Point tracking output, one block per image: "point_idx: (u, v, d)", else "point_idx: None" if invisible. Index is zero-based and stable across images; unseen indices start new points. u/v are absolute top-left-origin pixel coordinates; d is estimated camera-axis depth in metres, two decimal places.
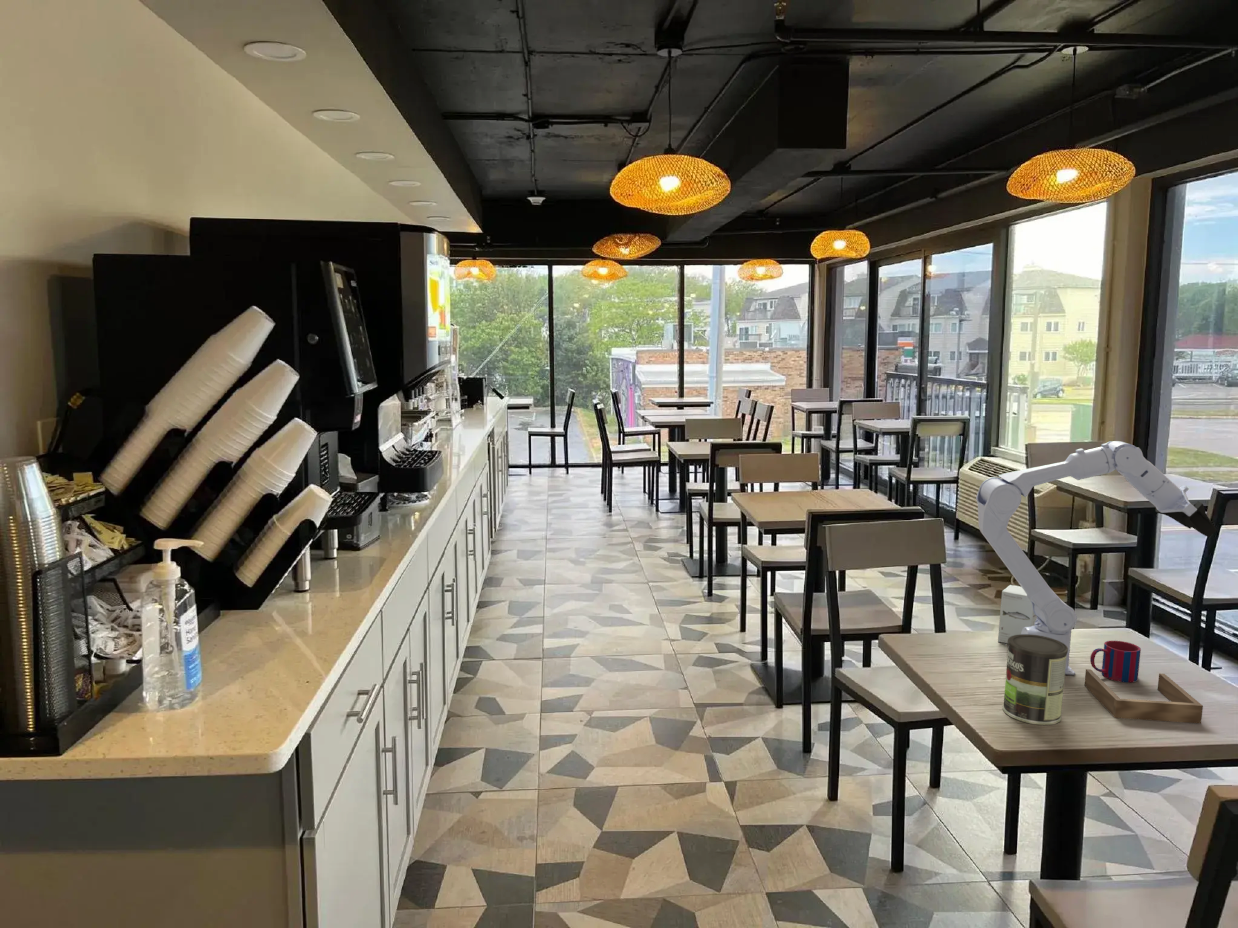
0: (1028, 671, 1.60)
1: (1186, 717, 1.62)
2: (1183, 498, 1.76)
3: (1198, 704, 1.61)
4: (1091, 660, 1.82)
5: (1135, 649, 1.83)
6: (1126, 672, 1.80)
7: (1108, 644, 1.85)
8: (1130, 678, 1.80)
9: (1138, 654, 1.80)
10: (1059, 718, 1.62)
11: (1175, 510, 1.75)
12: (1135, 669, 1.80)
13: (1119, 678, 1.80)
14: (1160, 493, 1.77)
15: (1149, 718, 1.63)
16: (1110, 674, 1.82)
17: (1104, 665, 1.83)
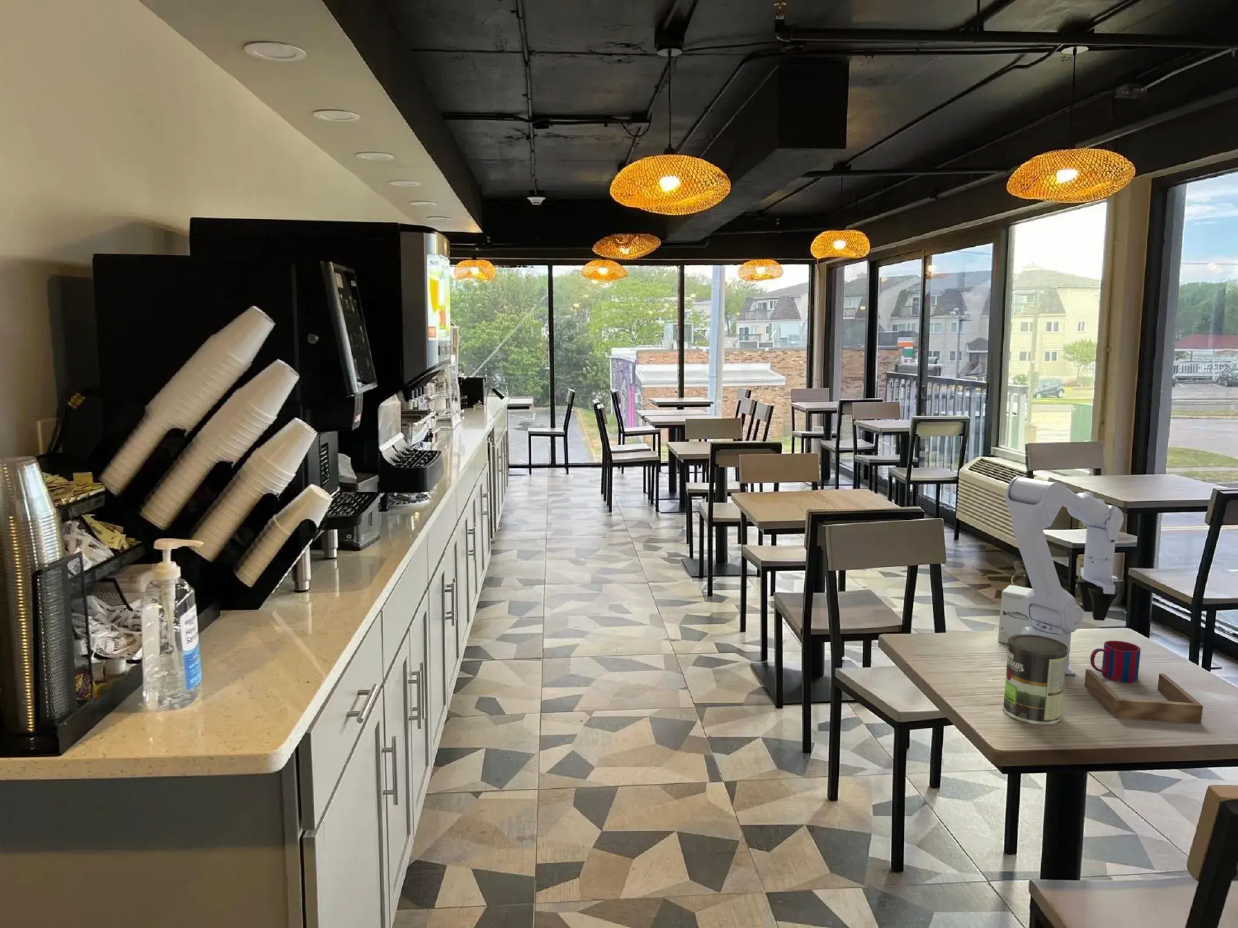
0: (1028, 671, 1.60)
1: (1186, 717, 1.62)
2: (1109, 581, 1.89)
3: (1198, 704, 1.61)
4: (1091, 660, 1.82)
5: (1135, 649, 1.83)
6: (1126, 672, 1.80)
7: (1108, 644, 1.85)
8: (1130, 678, 1.80)
9: (1138, 654, 1.80)
10: (1059, 718, 1.62)
11: (1097, 583, 1.88)
12: (1135, 669, 1.80)
13: (1119, 678, 1.80)
14: (1100, 564, 1.89)
15: (1149, 718, 1.63)
16: (1110, 674, 1.82)
17: (1104, 665, 1.83)
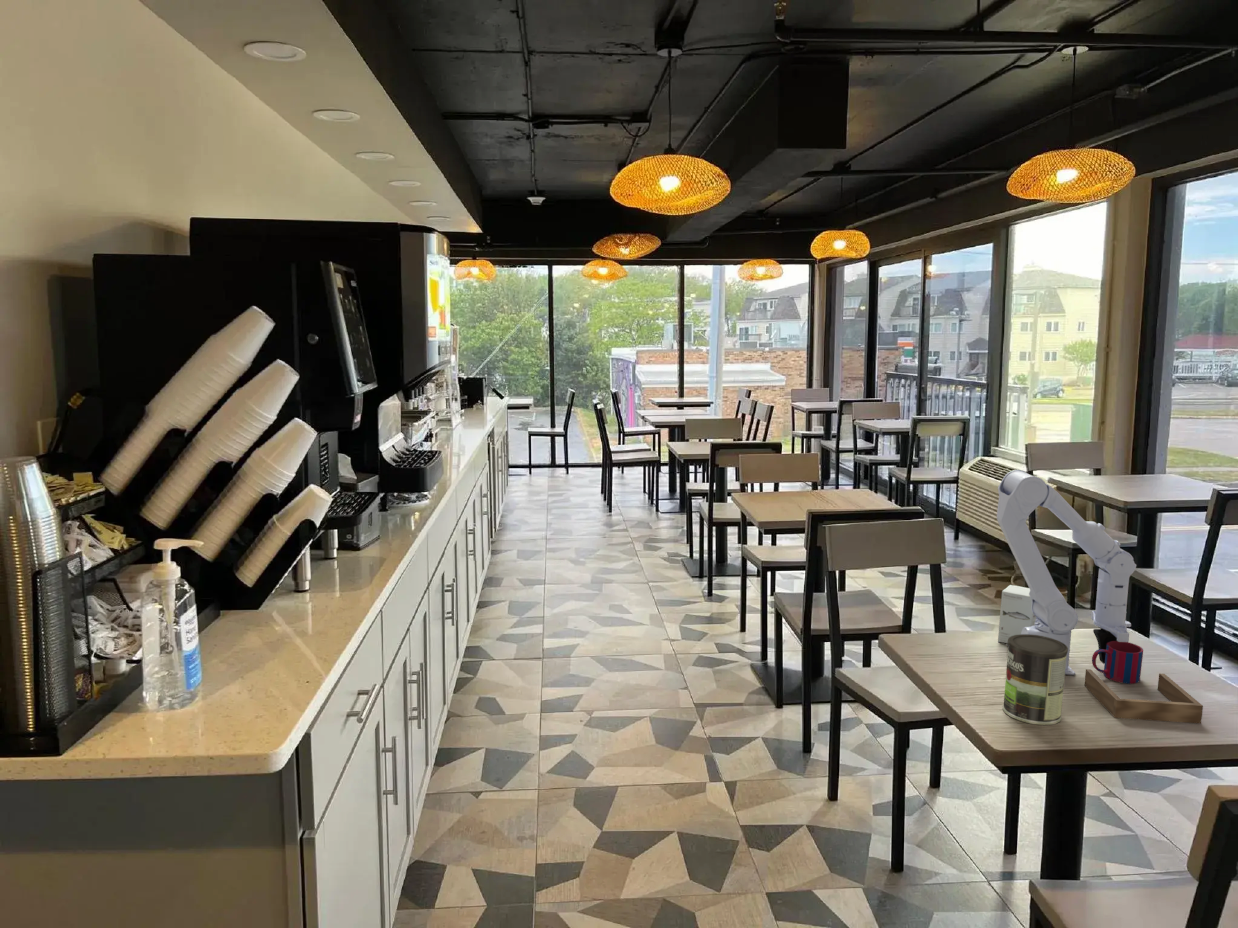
0: (1028, 671, 1.60)
1: (1186, 717, 1.62)
2: (1122, 628, 1.83)
3: (1198, 704, 1.61)
4: (1093, 661, 1.82)
5: (1138, 650, 1.82)
6: (1128, 673, 1.79)
7: (1111, 644, 1.84)
8: (1131, 679, 1.79)
9: (1140, 655, 1.79)
10: (1059, 718, 1.62)
11: (1111, 630, 1.81)
12: (1137, 670, 1.79)
13: (1120, 679, 1.80)
14: (1112, 610, 1.82)
15: (1149, 718, 1.63)
16: (1112, 675, 1.81)
17: (1106, 666, 1.82)
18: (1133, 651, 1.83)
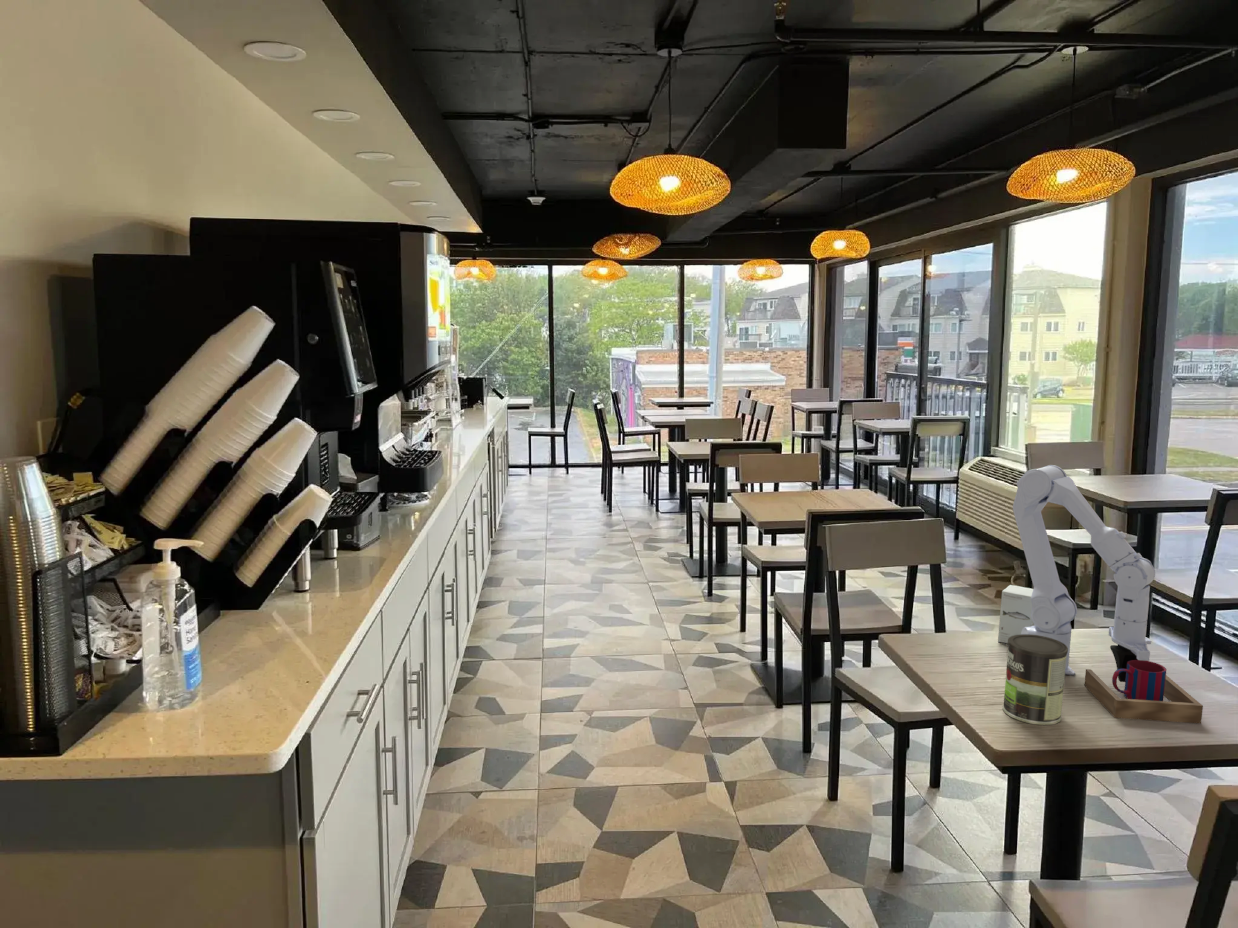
0: (1028, 671, 1.60)
1: (1186, 717, 1.62)
2: (1142, 645, 1.73)
3: (1198, 704, 1.61)
4: (1113, 681, 1.71)
5: (1160, 669, 1.71)
6: (1151, 694, 1.69)
7: (1131, 664, 1.74)
8: None
9: (1164, 675, 1.69)
10: (1059, 718, 1.62)
11: (1130, 647, 1.71)
12: (1160, 691, 1.69)
13: None
14: (1132, 626, 1.73)
15: (1149, 718, 1.63)
16: (1133, 696, 1.71)
17: (1127, 686, 1.72)
18: (1155, 670, 1.73)
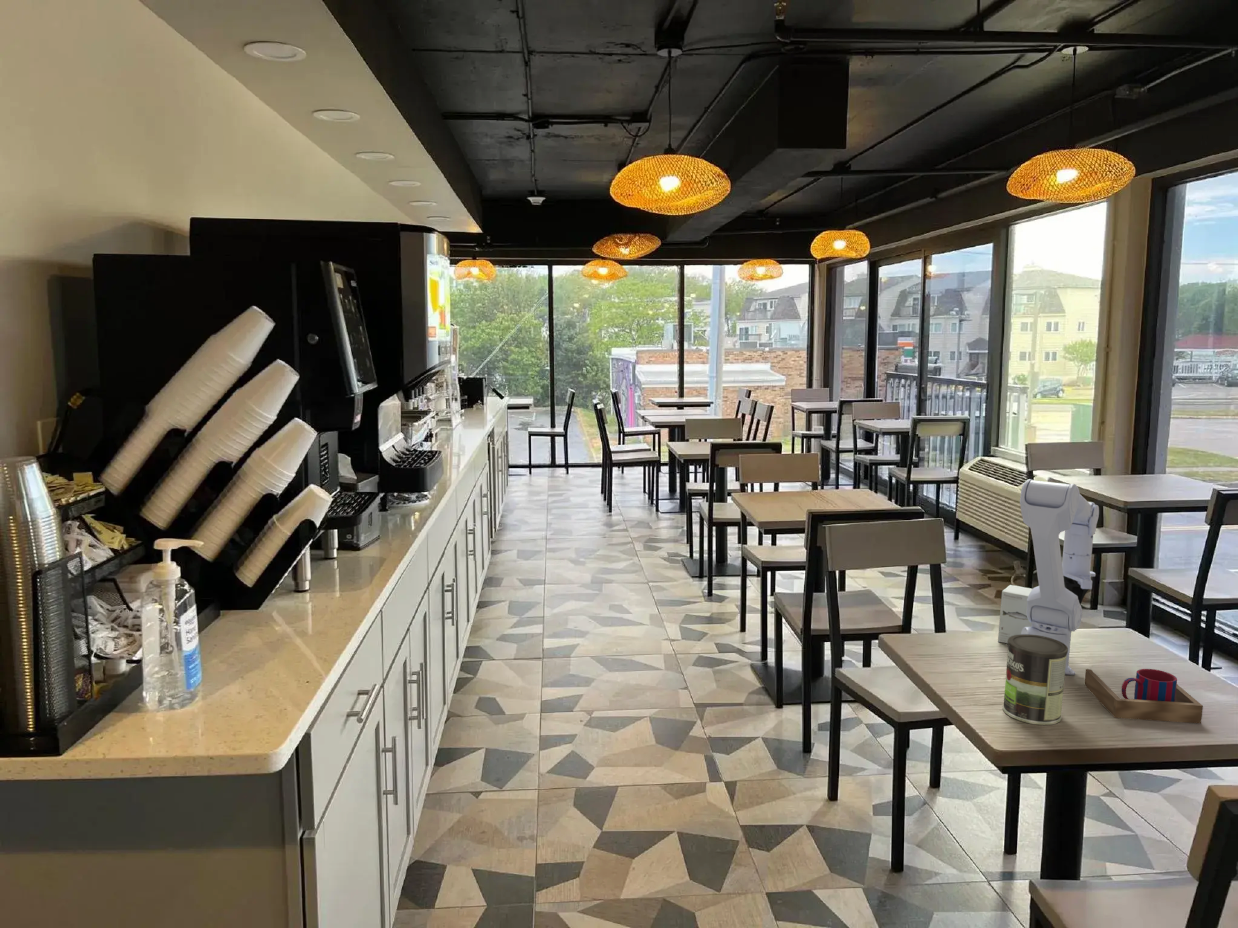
0: (1028, 671, 1.60)
1: (1186, 717, 1.62)
2: (1087, 577, 1.93)
3: (1198, 704, 1.61)
4: (1122, 691, 1.67)
5: (1171, 679, 1.67)
6: None
7: (1141, 673, 1.69)
8: None
9: (1174, 685, 1.64)
10: (1059, 718, 1.62)
11: (1075, 578, 1.92)
12: (1171, 701, 1.64)
13: None
14: (1077, 560, 1.93)
15: (1149, 718, 1.63)
16: None
17: (1136, 696, 1.68)
18: (1165, 680, 1.68)
